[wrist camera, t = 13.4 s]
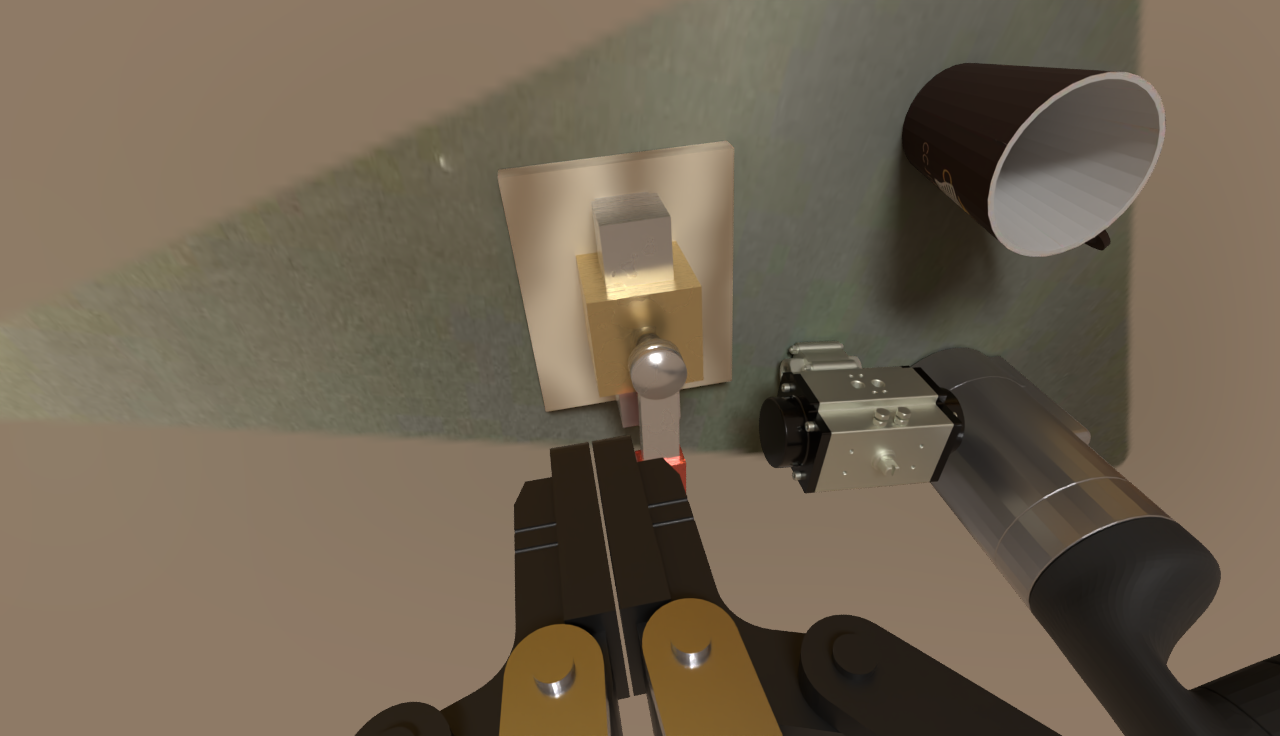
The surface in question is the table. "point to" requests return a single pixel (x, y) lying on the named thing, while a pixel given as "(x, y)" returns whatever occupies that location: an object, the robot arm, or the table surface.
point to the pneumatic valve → (857, 422)
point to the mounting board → (563, 227)
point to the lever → (659, 400)
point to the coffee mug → (1037, 149)
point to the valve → (637, 294)
